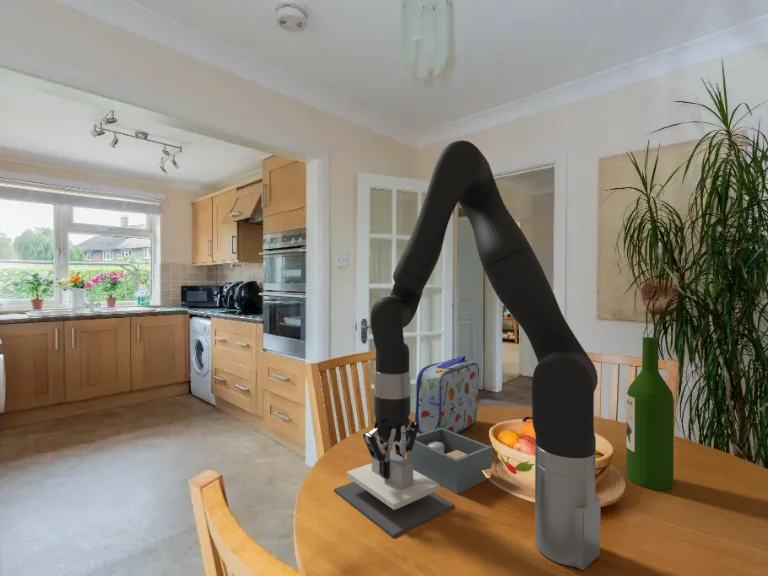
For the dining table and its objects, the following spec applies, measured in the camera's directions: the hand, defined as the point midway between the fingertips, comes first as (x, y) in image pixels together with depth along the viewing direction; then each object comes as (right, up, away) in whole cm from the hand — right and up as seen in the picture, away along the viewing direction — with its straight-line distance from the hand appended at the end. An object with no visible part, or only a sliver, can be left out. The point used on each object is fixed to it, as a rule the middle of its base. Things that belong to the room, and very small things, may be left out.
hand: (392, 474), depth 83 cm
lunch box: (+18, -5, +40) cm, 44 cm away
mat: (0, -5, 0) cm, 5 cm away
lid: (0, -3, 0) cm, 3 cm away
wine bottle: (+59, -5, +8) cm, 59 cm away
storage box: (+14, -5, +12) cm, 19 cm away
